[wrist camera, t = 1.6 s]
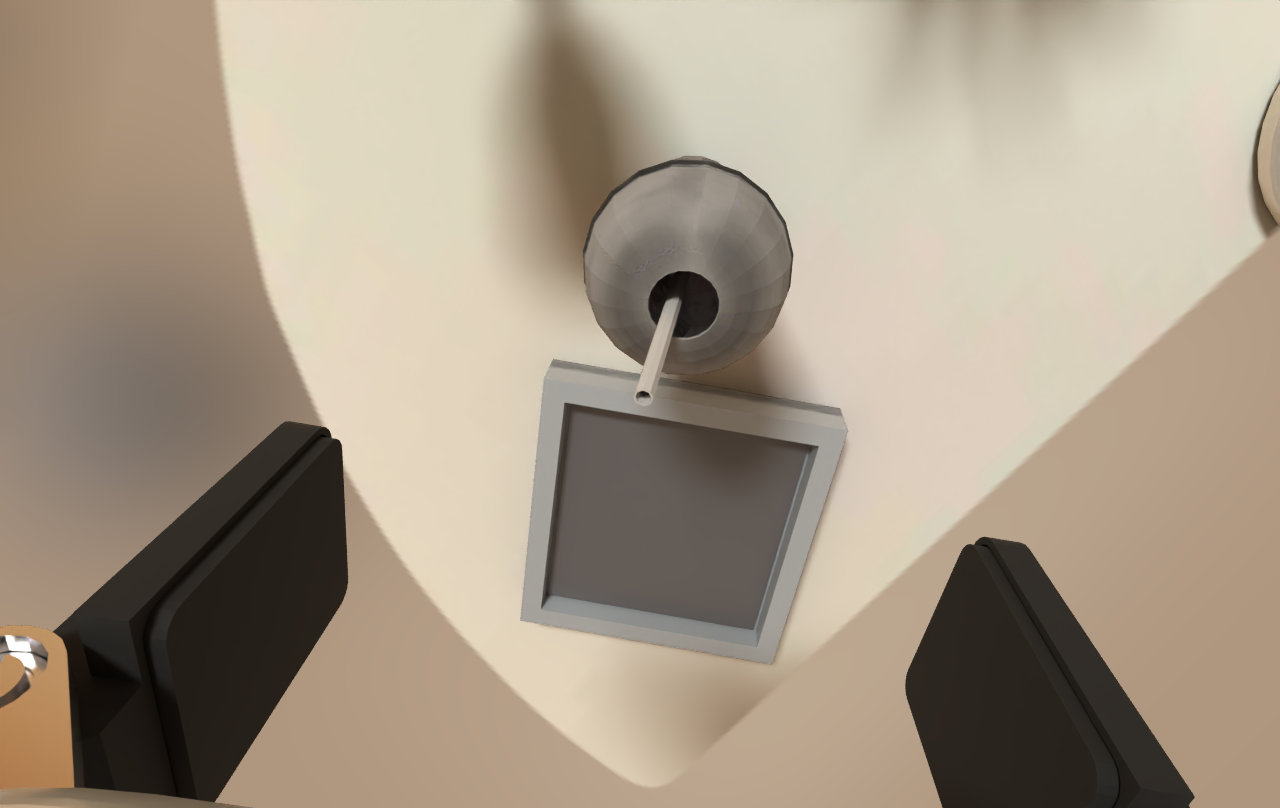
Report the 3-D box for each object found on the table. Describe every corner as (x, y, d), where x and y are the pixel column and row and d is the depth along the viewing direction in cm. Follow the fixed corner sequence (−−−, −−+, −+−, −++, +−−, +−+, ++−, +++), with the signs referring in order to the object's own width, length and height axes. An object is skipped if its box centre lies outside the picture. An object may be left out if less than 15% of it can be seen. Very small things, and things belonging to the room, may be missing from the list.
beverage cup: (798, 205, 35) (898, 374, 17) (689, 304, 37) (674, 541, 19) (695, 89, 33) (683, 139, 15) (587, 202, 35) (467, 361, 17)
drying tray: (840, 408, 39) (848, 430, 37) (768, 635, 47) (771, 664, 45) (553, 359, 39) (543, 378, 37) (529, 593, 47) (520, 620, 45)
